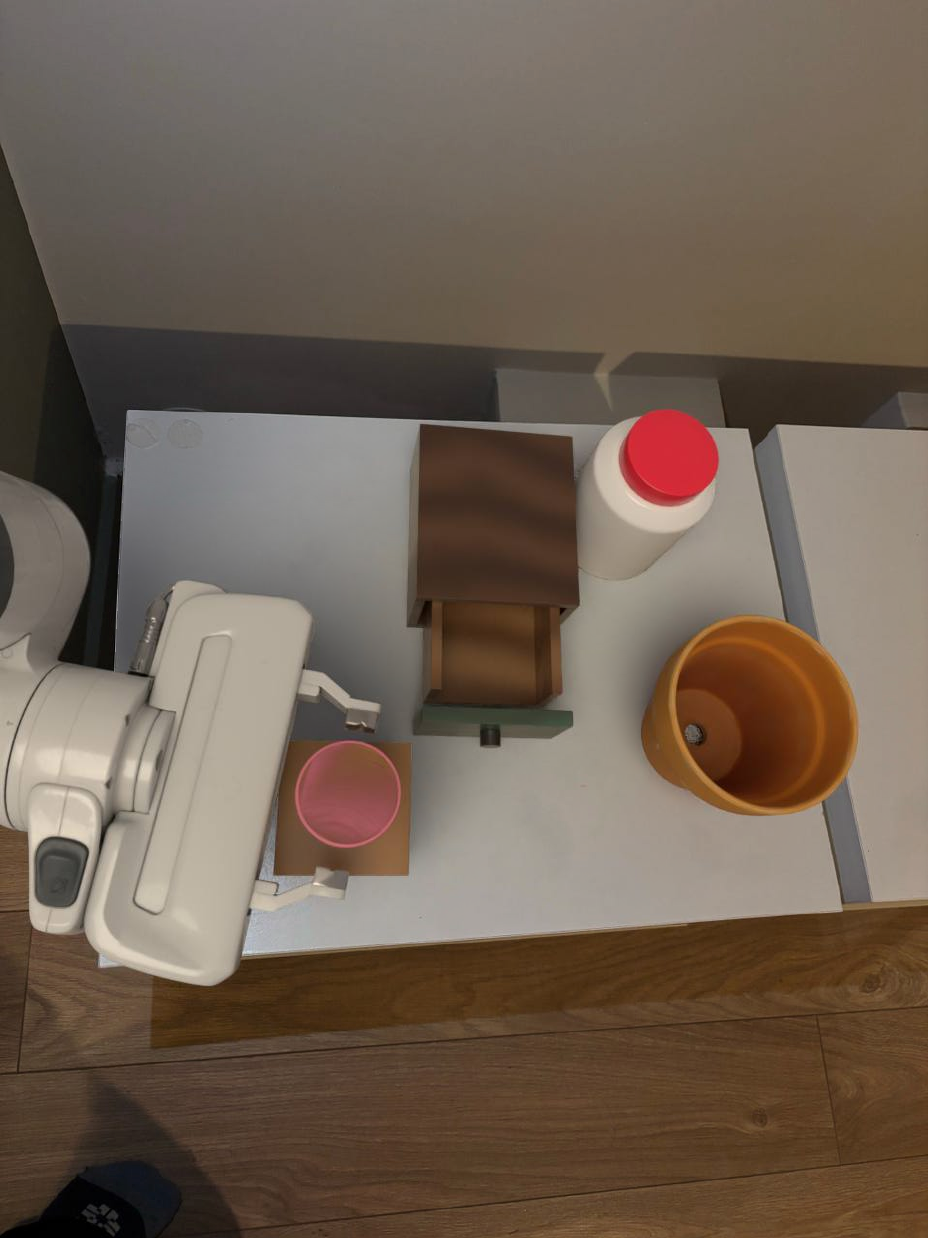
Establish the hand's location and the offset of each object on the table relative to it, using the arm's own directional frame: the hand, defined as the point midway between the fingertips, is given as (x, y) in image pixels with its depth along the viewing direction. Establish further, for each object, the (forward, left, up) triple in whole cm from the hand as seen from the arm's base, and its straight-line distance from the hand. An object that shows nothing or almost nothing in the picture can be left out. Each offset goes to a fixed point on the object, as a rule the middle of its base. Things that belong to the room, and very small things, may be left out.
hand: (363, 799), depth 44 cm
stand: (-1, 0, -20) cm, 20 cm away
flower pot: (+28, +7, -20) cm, 35 cm away
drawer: (+10, +13, -19) cm, 25 cm away
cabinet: (+10, +23, -20) cm, 32 cm away
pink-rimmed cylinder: (-1, 0, -6) cm, 6 cm away
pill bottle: (+22, +26, -20) cm, 39 cm away
